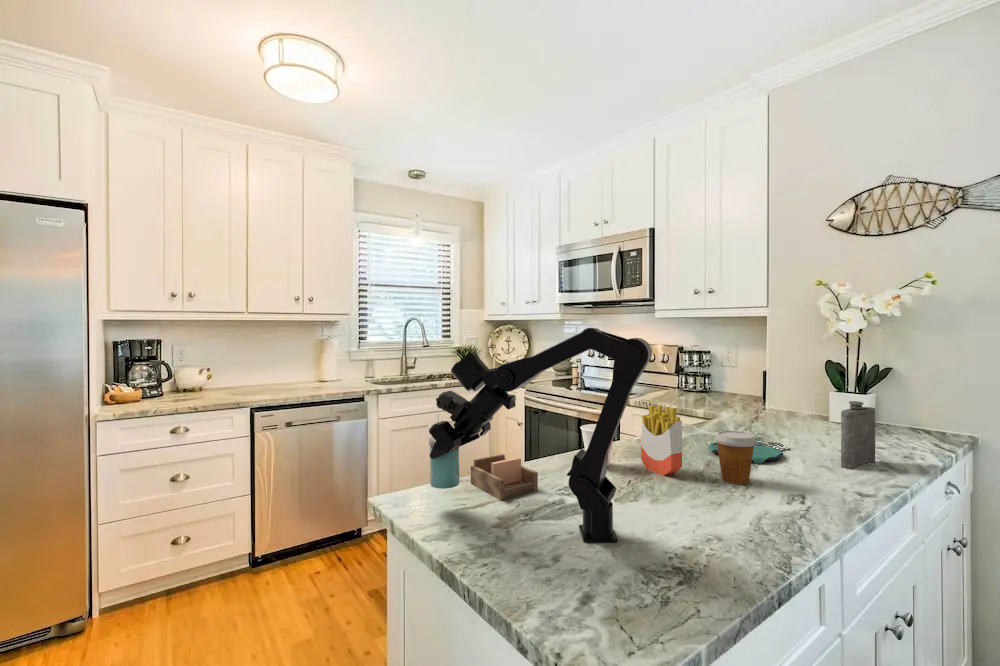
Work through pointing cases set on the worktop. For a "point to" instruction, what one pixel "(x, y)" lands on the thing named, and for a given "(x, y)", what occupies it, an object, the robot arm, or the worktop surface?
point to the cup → (587, 435)
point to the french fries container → (661, 440)
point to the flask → (857, 435)
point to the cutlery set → (759, 451)
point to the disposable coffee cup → (735, 455)
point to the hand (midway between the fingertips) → (439, 453)
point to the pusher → (507, 470)
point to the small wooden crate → (495, 485)
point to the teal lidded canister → (444, 469)
